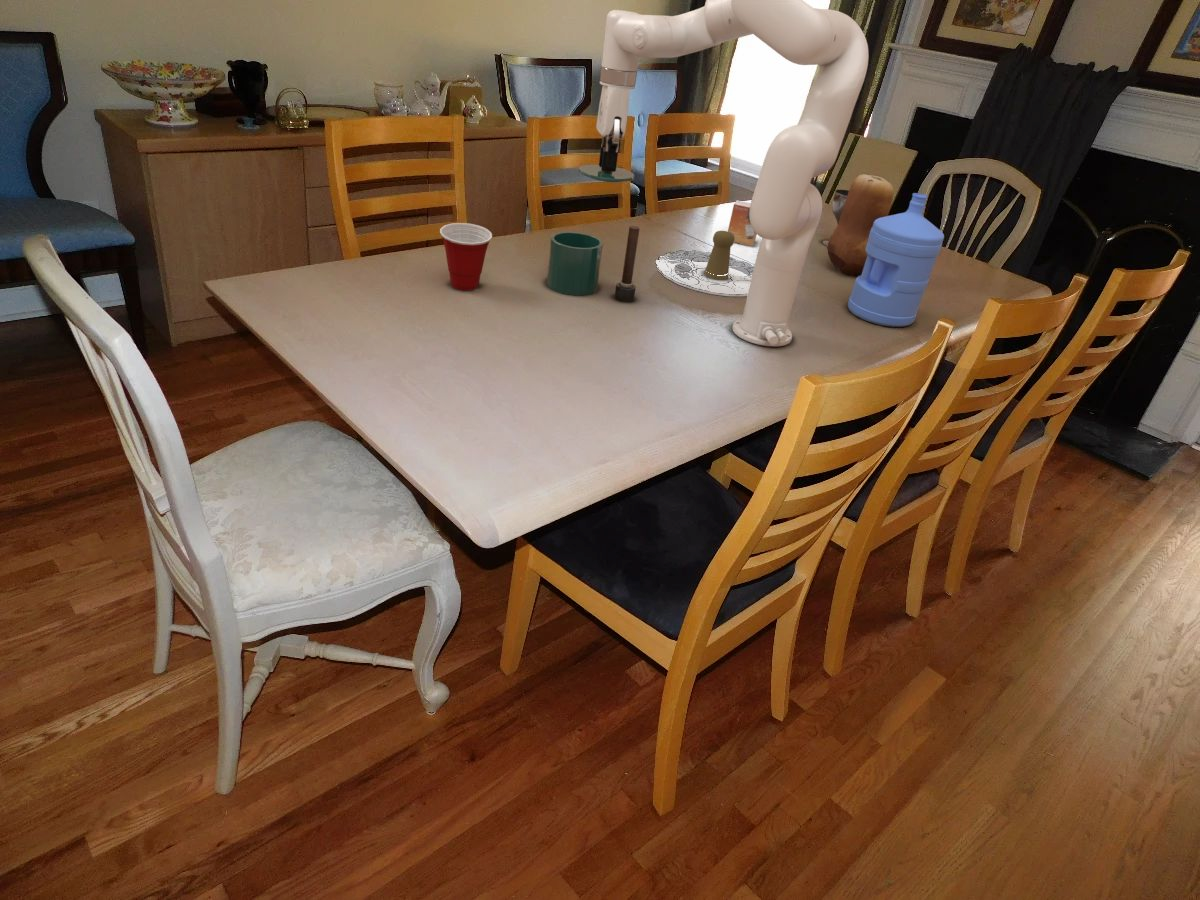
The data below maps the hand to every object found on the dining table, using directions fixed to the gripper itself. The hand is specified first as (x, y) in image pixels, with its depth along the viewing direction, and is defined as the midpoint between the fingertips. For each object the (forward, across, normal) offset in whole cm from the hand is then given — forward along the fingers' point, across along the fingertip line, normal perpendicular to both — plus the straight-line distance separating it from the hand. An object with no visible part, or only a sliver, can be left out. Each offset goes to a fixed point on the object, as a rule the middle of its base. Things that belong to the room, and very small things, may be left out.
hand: (607, 168), depth 170 cm
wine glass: (+24, -36, +79) cm, 90 cm away
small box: (+24, -33, +48) cm, 63 cm away
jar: (+24, +10, -7) cm, 27 cm away
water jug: (+24, +18, +66) cm, 73 cm away
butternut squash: (+24, -12, +71) cm, 76 cm away
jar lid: (+1, 0, 0) cm, 1 cm away
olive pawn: (+24, -3, +31) cm, 40 cm away
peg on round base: (+24, +16, +4) cm, 29 cm away
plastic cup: (+24, +14, -31) cm, 42 cm away
